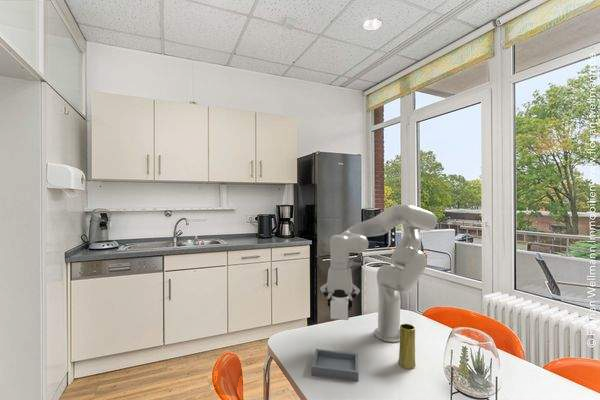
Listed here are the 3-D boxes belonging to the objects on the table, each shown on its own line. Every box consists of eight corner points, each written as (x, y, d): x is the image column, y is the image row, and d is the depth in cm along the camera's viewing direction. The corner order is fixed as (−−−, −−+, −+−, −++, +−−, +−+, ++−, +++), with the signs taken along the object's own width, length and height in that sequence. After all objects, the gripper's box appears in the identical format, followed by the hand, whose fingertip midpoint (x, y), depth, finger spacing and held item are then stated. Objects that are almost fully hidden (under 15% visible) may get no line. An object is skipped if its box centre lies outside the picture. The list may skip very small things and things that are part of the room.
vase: (407, 371, 104) (408, 331, 104) (394, 362, 110) (395, 324, 109) (419, 366, 107) (420, 328, 107) (406, 358, 112) (406, 321, 112)
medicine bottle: (348, 320, 115) (348, 290, 115) (330, 319, 116) (330, 289, 116) (349, 313, 122) (348, 285, 122) (332, 312, 123) (331, 284, 123)
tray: (357, 361, 110) (357, 353, 109) (358, 381, 98) (358, 372, 98) (315, 356, 112) (316, 348, 112) (311, 375, 101) (311, 366, 101)
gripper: (361, 263, 121) (361, 306, 121) (319, 262, 124) (319, 303, 124) (361, 268, 113) (361, 313, 114) (317, 266, 116) (317, 310, 117)
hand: (339, 307), depth 119 cm, fingers closed on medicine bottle, 7 cm apart
